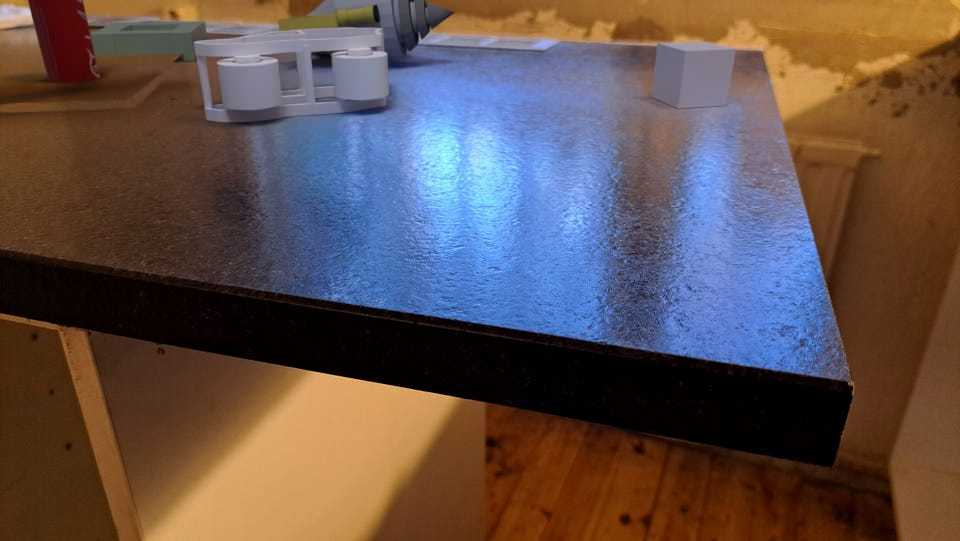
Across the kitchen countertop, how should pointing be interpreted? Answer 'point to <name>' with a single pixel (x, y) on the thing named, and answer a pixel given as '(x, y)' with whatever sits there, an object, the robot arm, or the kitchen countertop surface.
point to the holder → (150, 39)
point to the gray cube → (692, 74)
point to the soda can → (64, 40)
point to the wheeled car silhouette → (257, 80)
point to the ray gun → (375, 21)
